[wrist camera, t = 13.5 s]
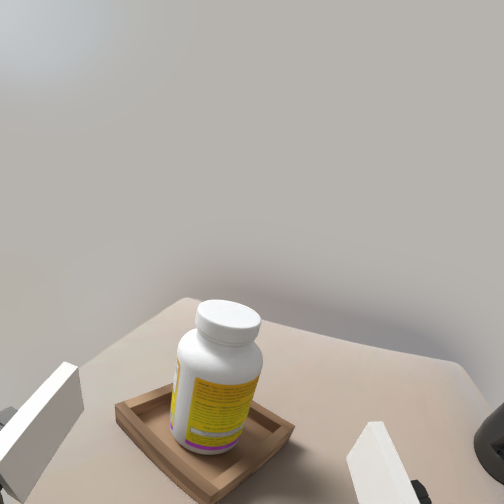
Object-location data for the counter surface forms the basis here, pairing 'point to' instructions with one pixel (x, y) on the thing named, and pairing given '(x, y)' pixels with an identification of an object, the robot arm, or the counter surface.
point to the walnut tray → (194, 464)
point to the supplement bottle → (215, 377)
